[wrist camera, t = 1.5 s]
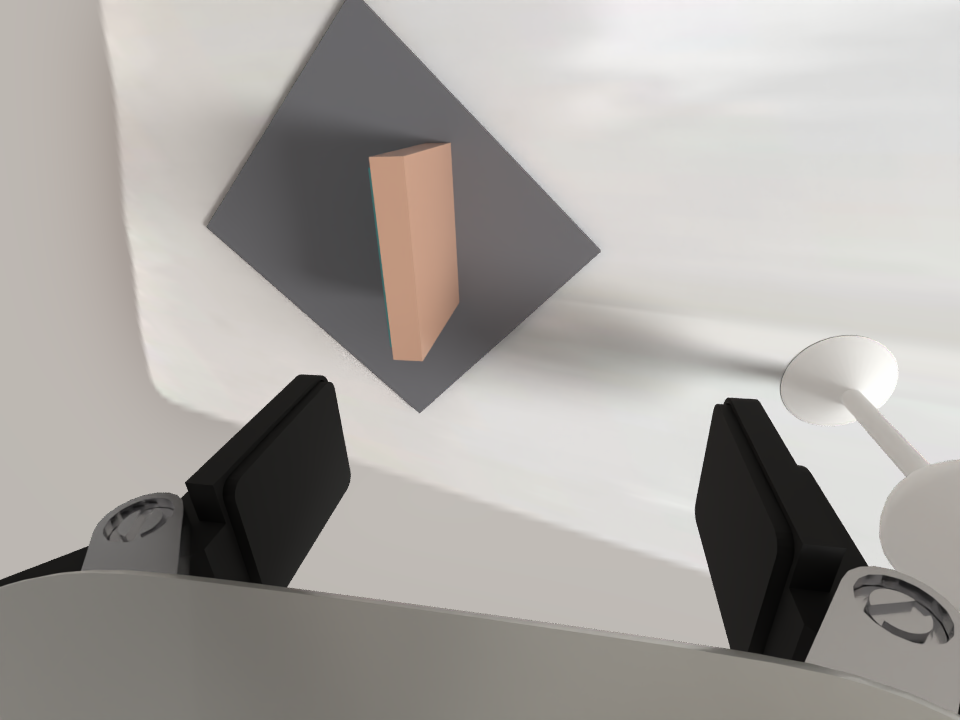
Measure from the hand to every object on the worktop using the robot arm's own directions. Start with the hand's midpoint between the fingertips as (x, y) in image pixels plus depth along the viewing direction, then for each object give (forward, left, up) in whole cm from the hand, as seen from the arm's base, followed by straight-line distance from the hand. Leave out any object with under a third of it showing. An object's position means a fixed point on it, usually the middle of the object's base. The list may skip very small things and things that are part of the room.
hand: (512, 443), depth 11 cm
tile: (-5, -5, -23) cm, 24 cm away
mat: (-7, -8, -23) cm, 25 cm away
